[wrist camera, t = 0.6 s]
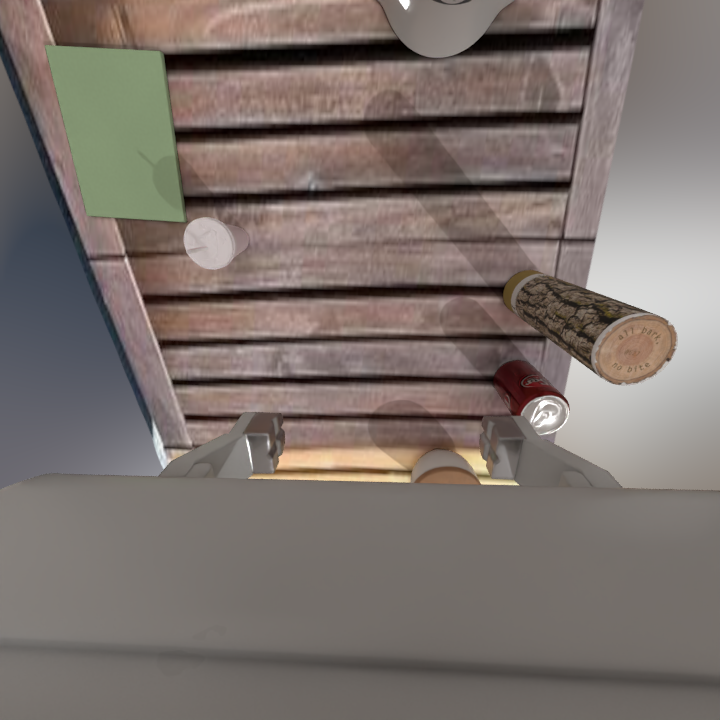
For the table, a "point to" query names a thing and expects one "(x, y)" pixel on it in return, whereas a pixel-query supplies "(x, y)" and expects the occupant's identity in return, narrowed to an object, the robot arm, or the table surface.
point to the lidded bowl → (443, 469)
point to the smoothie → (214, 242)
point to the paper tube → (593, 327)
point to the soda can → (531, 396)
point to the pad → (120, 131)
